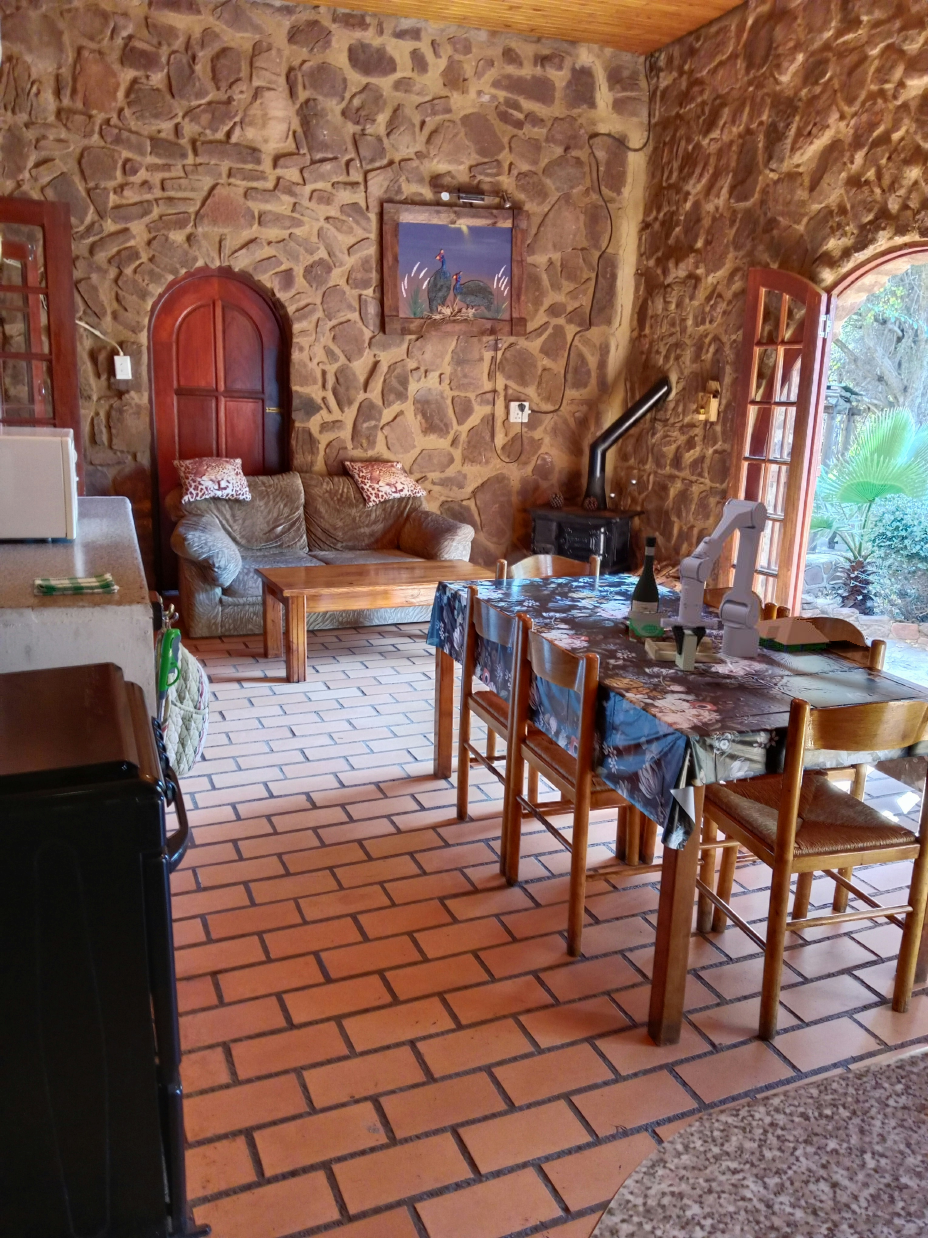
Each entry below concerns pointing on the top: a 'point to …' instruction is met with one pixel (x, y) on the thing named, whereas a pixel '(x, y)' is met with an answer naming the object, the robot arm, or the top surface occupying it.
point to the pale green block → (687, 652)
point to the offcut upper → (705, 644)
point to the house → (790, 632)
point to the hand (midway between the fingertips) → (685, 654)
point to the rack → (672, 652)
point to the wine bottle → (646, 583)
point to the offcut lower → (704, 651)
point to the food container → (646, 625)
